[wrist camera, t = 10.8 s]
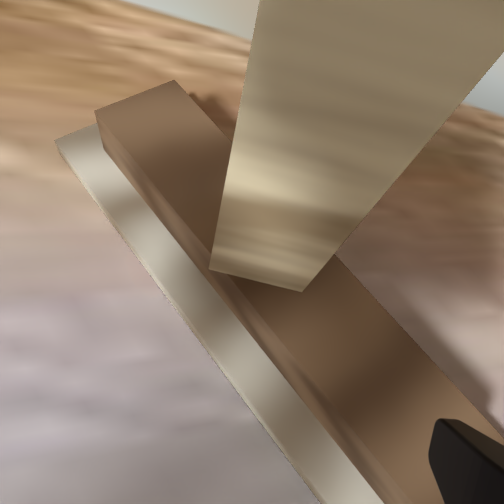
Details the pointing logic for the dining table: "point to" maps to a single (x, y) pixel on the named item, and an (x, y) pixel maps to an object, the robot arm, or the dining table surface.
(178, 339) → the dining table surface
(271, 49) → the ash post
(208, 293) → the ridge stand
